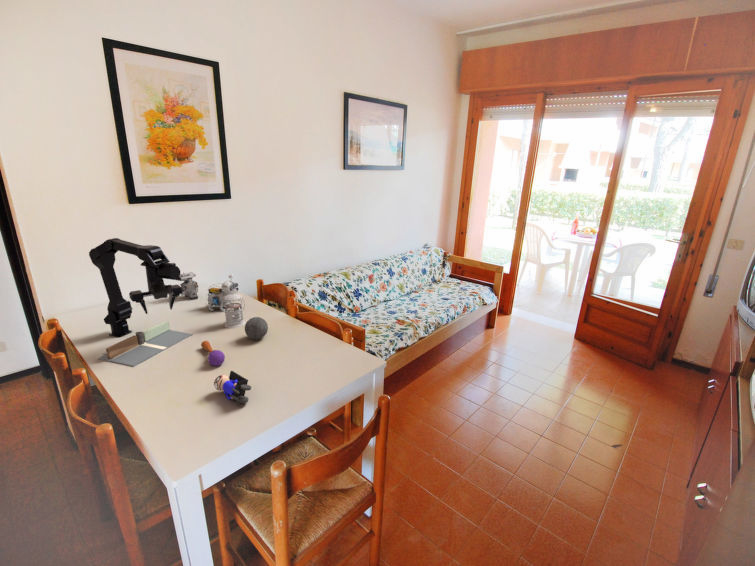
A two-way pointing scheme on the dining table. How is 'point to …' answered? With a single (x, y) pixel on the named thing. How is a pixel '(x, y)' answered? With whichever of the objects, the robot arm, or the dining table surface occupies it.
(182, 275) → the figurine
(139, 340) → the brown wooden bar
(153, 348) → the card
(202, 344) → the kendama
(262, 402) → the dining table surface
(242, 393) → the character figurine
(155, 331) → the swing panel
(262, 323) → the decorative ball
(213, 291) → the robotic toy
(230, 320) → the french press
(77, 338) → the dining table surface
